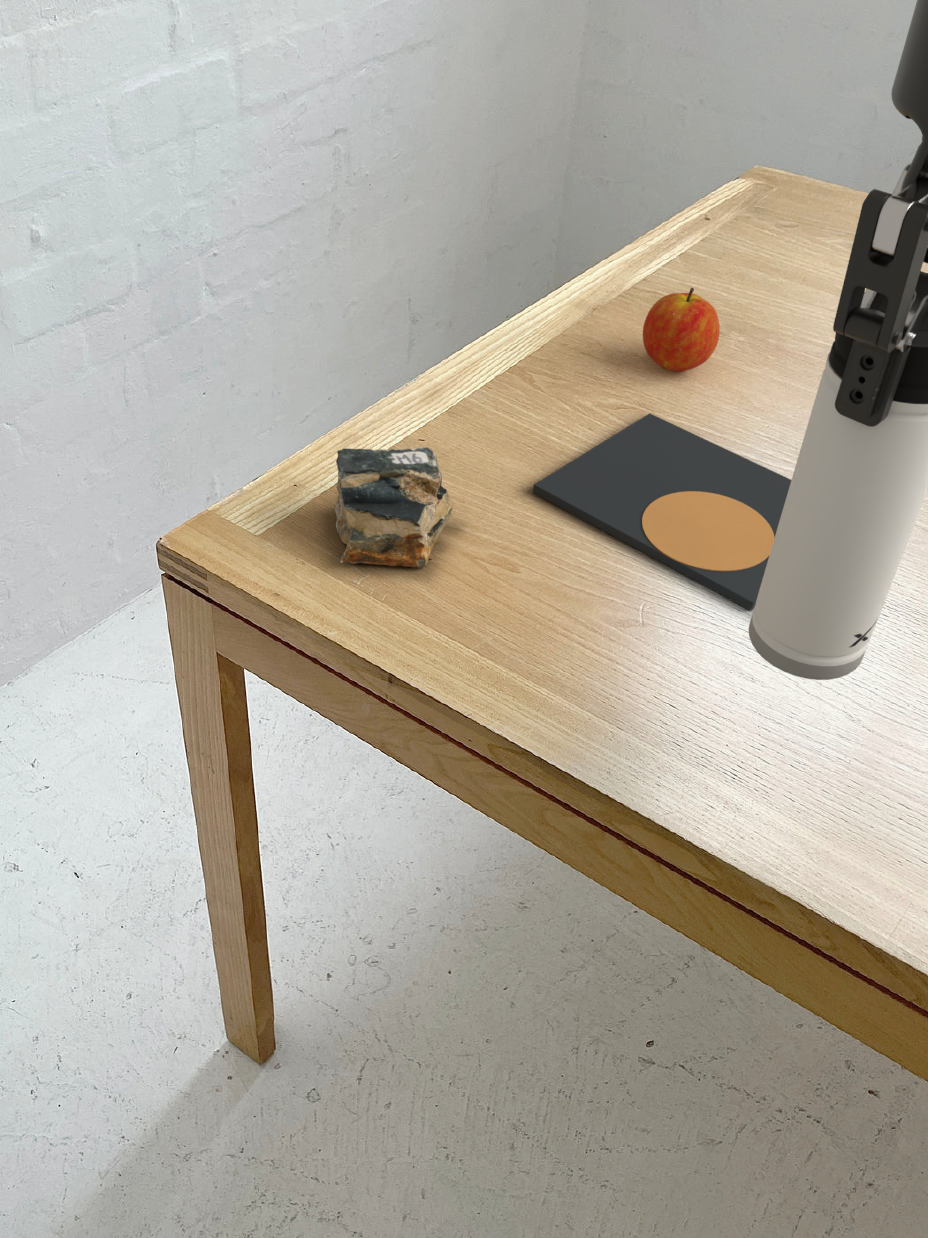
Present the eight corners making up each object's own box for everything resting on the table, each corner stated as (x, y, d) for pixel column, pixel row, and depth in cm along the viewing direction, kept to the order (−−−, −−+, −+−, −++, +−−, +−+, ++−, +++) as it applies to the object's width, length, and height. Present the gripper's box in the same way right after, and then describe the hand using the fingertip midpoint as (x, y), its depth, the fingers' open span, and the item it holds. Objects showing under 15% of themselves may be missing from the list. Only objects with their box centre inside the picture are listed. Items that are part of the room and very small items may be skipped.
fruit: (626, 351, 108) (640, 271, 103) (693, 346, 110) (710, 267, 104) (653, 387, 103) (668, 305, 98) (722, 382, 105) (742, 301, 99)
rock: (341, 574, 80) (340, 509, 76) (332, 498, 87) (331, 434, 83) (461, 569, 81) (466, 504, 78) (443, 494, 88) (447, 431, 85)
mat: (856, 519, 89) (859, 510, 89) (750, 611, 80) (753, 601, 79) (648, 420, 99) (649, 411, 98) (532, 492, 89) (533, 483, 89)
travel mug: (881, 686, 60) (1024, 339, 47) (758, 679, 60) (867, 329, 47) (853, 610, 65) (975, 277, 52) (738, 604, 65) (832, 267, 52)
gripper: (1063, 37, 35) (899, 485, 46) (1195, -20, 44) (1030, 370, 55) (845, -11, 39) (741, 415, 50) (1006, -55, 47) (887, 317, 58)
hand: (893, 390), depth 52 cm, fingers closed on travel mug, 6 cm apart
